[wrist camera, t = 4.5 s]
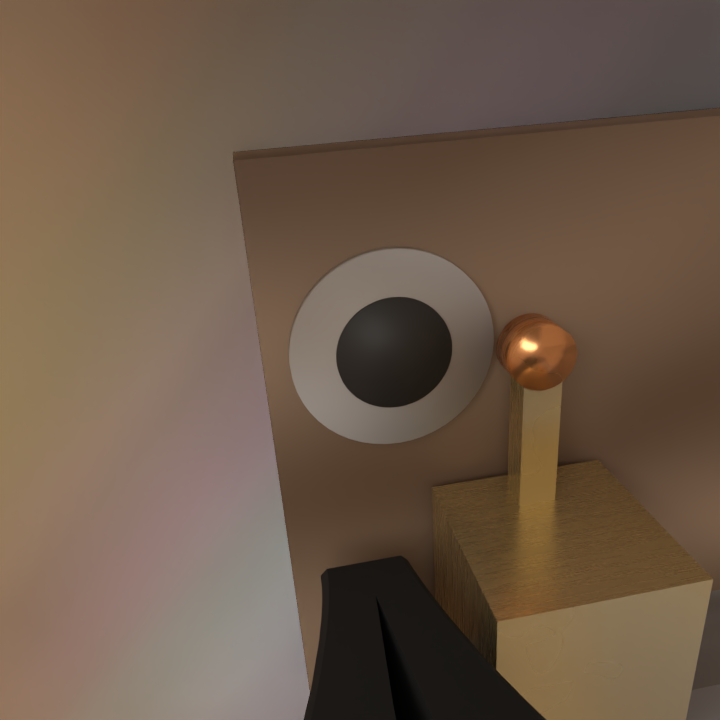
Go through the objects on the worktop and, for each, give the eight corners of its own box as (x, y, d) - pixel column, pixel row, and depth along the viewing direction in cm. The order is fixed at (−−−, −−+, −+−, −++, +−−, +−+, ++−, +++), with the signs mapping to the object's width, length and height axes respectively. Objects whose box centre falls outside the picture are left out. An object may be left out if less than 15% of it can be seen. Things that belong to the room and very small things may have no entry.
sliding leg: (585, 591, 12) (683, 732, 10) (435, 621, 12) (494, 776, 9) (612, 296, 10) (753, 374, 7) (426, 320, 10) (501, 413, 7)
